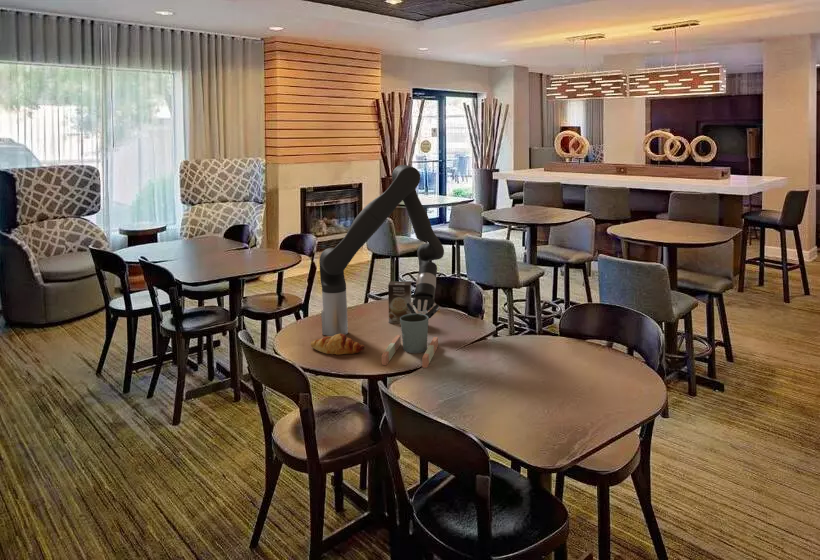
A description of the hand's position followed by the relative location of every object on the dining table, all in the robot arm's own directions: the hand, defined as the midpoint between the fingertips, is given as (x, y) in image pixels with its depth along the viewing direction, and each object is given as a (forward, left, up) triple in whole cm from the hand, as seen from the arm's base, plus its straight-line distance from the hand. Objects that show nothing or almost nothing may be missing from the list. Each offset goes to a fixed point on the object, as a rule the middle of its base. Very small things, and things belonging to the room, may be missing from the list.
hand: (420, 327), depth 250 cm
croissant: (-27, -16, -6) cm, 32 cm away
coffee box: (-13, +24, -5) cm, 27 cm away
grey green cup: (0, -10, -5) cm, 11 cm away
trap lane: (0, -16, -5) cm, 17 cm away
